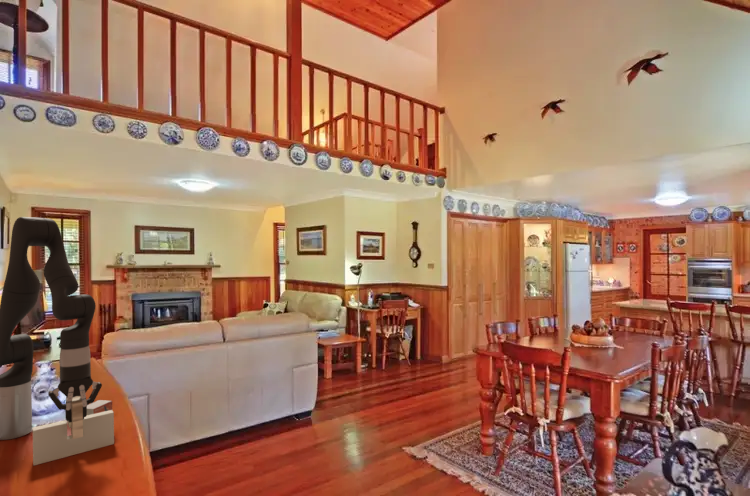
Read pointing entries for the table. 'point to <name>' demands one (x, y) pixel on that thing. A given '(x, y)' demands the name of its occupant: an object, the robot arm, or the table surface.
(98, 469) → the table surface
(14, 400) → the robot arm
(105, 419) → the notched board
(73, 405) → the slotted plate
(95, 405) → the small box
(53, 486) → the table surface
